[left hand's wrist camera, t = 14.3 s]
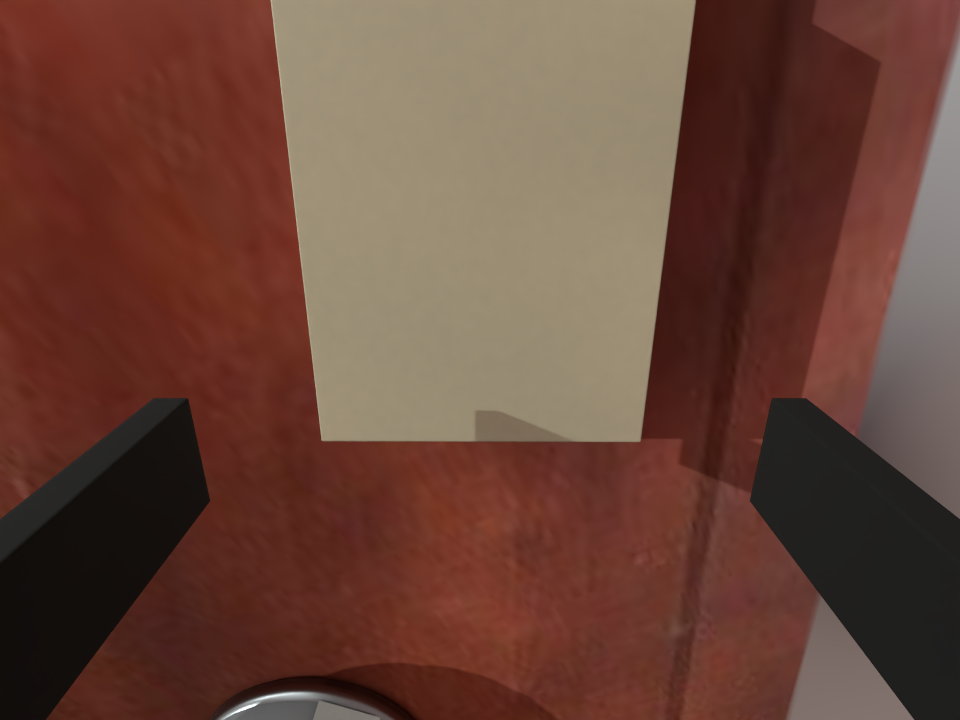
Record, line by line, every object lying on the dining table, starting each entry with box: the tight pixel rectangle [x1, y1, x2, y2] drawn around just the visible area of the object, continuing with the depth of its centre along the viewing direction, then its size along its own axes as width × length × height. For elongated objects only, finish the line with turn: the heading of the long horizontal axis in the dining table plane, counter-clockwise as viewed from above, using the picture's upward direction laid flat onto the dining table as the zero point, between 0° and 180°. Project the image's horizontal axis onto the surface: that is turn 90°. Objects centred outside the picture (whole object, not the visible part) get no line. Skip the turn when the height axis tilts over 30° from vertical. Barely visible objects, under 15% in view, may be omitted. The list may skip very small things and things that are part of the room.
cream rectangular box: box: [271, 0, 696, 442], centre depth 20 cm, size 17×11×8 cm, turn 0°
